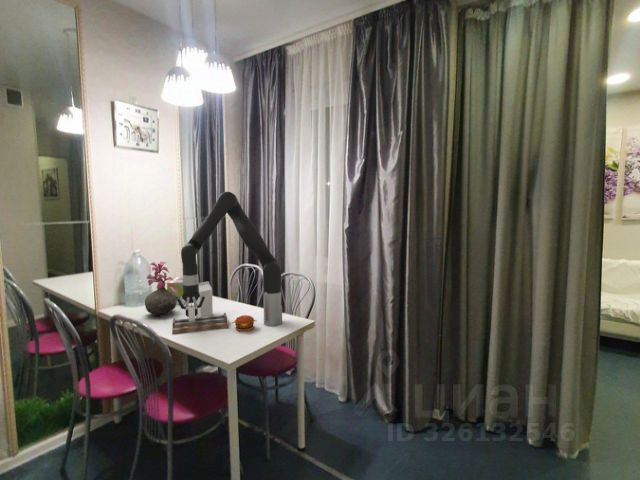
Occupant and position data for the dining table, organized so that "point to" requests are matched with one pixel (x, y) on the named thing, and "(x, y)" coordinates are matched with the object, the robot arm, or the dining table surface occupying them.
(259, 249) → the robot arm
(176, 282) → the tea box
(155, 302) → the vase
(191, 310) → the fader tab
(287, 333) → the dining table surface
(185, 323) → the fader console
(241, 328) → the hamburger
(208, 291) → the milk carton
